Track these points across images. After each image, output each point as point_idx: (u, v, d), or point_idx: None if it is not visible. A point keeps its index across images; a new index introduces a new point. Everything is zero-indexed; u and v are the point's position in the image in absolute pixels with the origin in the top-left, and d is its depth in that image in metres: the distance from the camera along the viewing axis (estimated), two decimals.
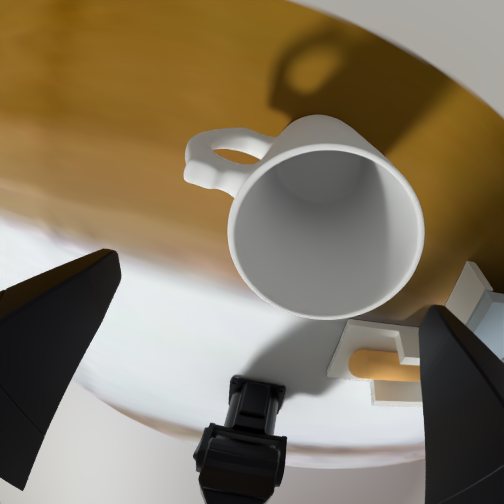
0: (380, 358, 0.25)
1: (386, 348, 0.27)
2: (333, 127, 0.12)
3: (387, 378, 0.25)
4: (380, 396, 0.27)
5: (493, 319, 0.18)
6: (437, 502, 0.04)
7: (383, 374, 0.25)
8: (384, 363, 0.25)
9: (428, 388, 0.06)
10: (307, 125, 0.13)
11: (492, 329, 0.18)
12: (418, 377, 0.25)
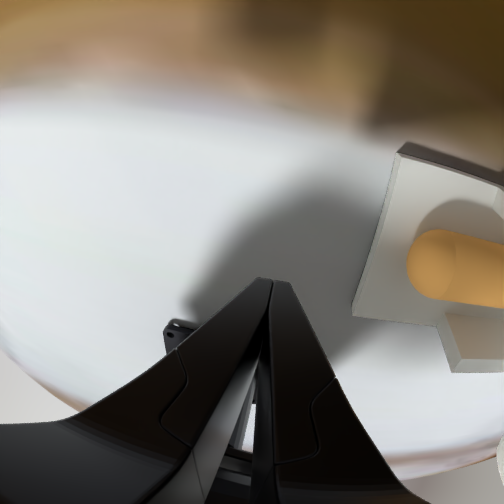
0: (476, 243, 0.10)
1: (475, 236, 0.11)
2: None
3: (493, 296, 0.09)
4: (468, 350, 0.11)
5: None
6: None
7: (488, 282, 0.09)
8: (487, 255, 0.09)
9: (259, 371, 0.07)
10: None
11: None
12: None
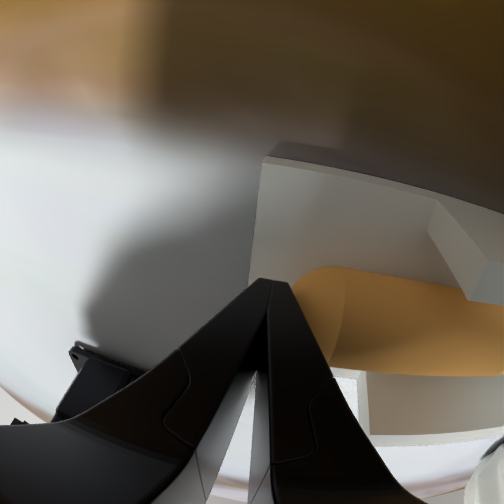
0: (390, 291, 0.07)
1: (402, 271, 0.09)
2: None
3: (417, 367, 0.07)
4: (384, 422, 0.09)
5: None
6: (249, 503, 0.05)
7: (406, 351, 0.07)
8: (406, 309, 0.07)
9: (257, 371, 0.07)
10: None
11: None
12: None
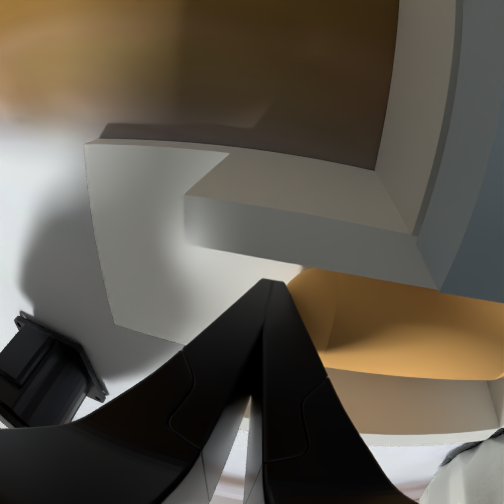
0: (384, 290, 0.07)
1: None
2: None
3: (411, 369, 0.07)
4: None
5: None
6: (244, 503, 0.05)
7: (399, 352, 0.07)
8: (399, 310, 0.07)
9: None
10: None
11: None
12: (501, 364, 0.06)
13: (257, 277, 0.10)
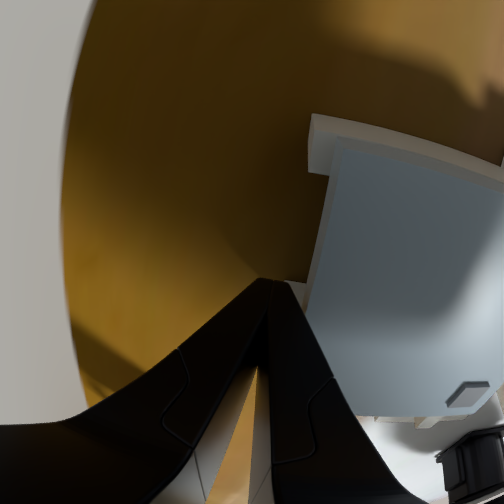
0: None
1: None
2: None
3: None
4: None
5: None
6: None
7: None
8: None
9: (258, 371, 0.07)
10: None
11: (373, 386, 0.08)
12: None
13: None
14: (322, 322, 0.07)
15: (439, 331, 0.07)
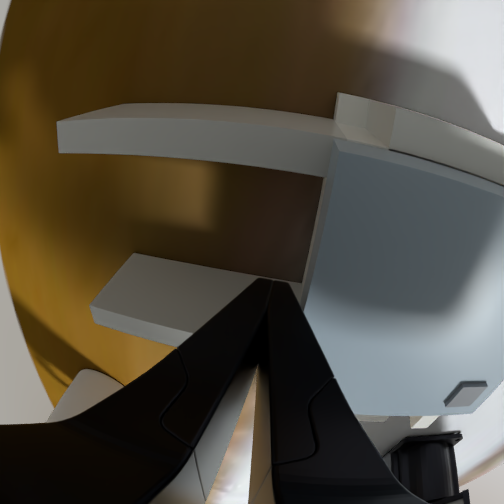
0: None
1: None
2: None
3: None
4: None
5: None
6: (250, 503, 0.05)
7: None
8: None
9: (258, 371, 0.07)
10: None
11: (371, 385, 0.08)
12: None
13: None
14: (320, 321, 0.07)
15: (436, 330, 0.07)
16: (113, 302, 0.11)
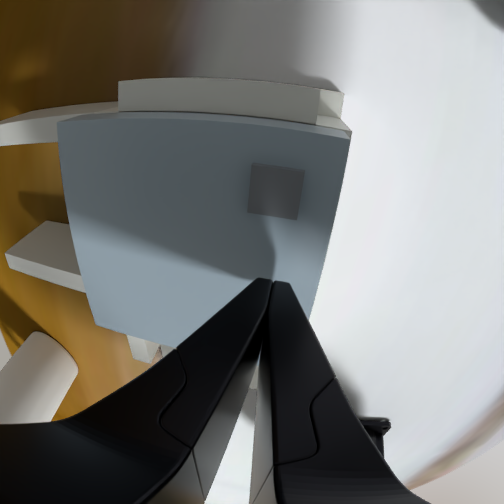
0: None
1: None
2: None
3: None
4: None
5: (122, 312, 0.11)
6: None
7: None
8: None
9: (259, 371, 0.07)
10: None
11: (144, 307, 0.10)
12: None
13: None
14: (81, 239, 0.09)
15: (163, 249, 0.09)
16: (18, 250, 0.13)
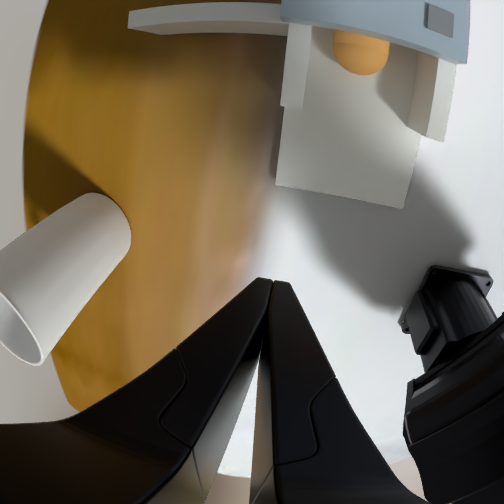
0: None
1: (329, 114, 0.15)
2: None
3: None
4: (424, 123, 0.12)
5: None
6: None
7: None
8: None
9: (259, 371, 0.07)
10: None
11: None
12: None
13: (356, 94, 0.14)
14: None
15: None
16: (148, 10, 0.11)
